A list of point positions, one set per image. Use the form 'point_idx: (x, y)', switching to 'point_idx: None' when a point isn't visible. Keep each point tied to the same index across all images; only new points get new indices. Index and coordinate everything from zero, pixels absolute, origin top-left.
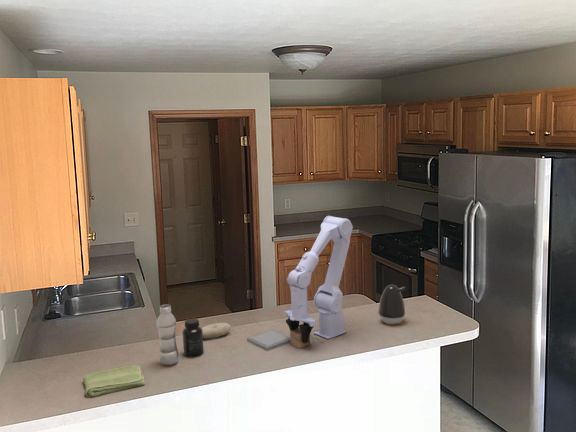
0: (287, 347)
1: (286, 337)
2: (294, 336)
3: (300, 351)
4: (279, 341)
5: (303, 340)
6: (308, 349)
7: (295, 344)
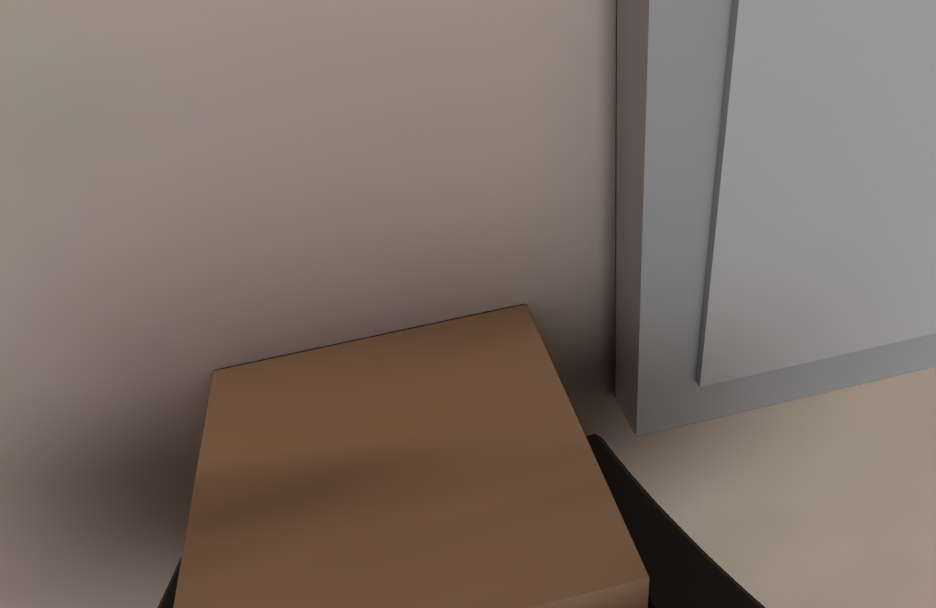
0: (421, 173)
1: (768, 355)
2: (418, 520)
3: (34, 322)
4: (734, 122)
5: (170, 587)
6: (83, 478)
7: (361, 370)
